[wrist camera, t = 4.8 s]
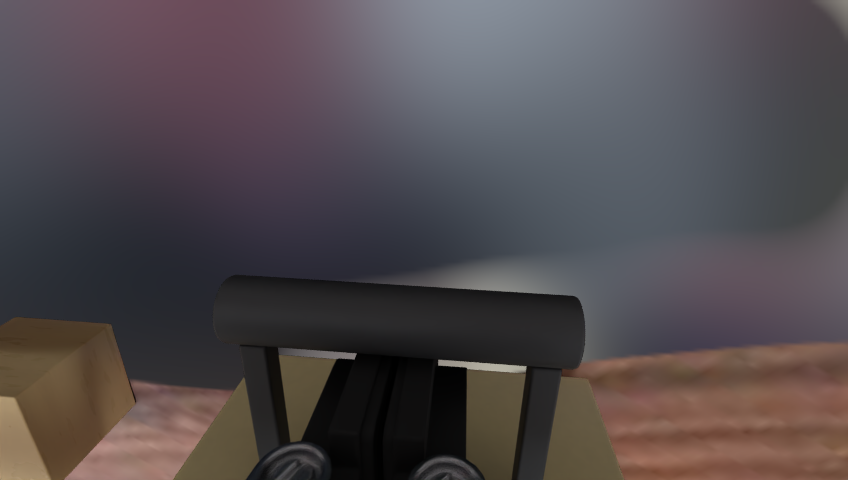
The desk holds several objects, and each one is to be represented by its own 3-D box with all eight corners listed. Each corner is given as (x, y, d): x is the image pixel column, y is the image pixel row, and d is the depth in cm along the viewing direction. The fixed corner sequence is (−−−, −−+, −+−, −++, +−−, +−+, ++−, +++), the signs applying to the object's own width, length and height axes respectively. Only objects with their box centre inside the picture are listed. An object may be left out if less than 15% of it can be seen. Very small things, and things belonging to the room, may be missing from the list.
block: (16, 316, 17) (-106, 387, 14) (111, 323, 17) (13, 397, 13) (47, 396, 19) (-54, 478, 15) (136, 403, 19) (55, 489, 15)
